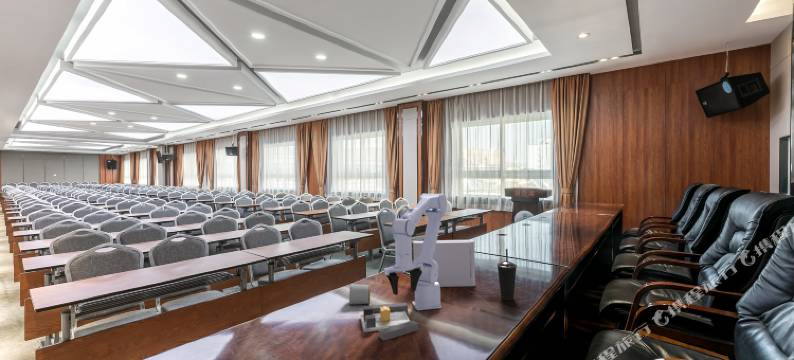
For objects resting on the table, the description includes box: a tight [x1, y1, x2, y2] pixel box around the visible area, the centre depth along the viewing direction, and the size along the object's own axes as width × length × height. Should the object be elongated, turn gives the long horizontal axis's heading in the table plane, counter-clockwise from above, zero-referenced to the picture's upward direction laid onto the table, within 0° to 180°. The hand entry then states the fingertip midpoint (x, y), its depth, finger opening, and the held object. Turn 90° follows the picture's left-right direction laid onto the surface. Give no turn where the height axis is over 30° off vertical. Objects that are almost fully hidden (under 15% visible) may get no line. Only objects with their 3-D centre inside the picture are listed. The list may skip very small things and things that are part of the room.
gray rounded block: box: [348, 283, 371, 306], centre depth 141 cm, size 11×8×8 cm
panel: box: [360, 305, 411, 333], centre depth 121 cm, size 16×11×4 cm
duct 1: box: [371, 302, 409, 314], centre depth 129 cm, size 13×3×3 cm, turn 98°
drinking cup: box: [496, 248, 518, 302], centre depth 140 cm, size 8×8×20 cm
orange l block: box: [380, 306, 390, 321], centre depth 121 cm, size 3×3×4 cm
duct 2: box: [378, 320, 419, 341], centre depth 113 cm, size 13×3×2 cm, turn 122°
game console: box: [412, 239, 476, 288], centre depth 159 cm, size 6×27×20 cm, turn 89°
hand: (404, 292), depth 122 cm, fingers open, 7 cm apart
